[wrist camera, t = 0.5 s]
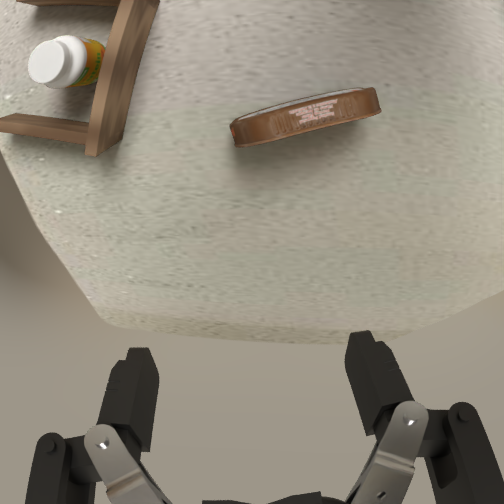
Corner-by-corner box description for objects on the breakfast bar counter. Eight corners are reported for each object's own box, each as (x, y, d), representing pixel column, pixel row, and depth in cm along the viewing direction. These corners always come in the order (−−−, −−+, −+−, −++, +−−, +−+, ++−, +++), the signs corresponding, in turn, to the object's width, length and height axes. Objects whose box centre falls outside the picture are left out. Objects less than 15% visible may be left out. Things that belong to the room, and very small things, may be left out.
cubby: (41, -3, 22) (4, -12, 15) (159, 0, 25) (141, -19, 18) (14, 122, 29) (-25, 137, 22) (122, 139, 32) (95, 156, 26)
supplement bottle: (99, 90, 29) (58, 98, 21) (61, 78, 28) (14, 84, 19) (118, 46, 27) (80, 39, 19) (79, 35, 25) (34, 28, 17)
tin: (235, 141, 34) (237, 159, 27) (226, 114, 32) (225, 125, 25) (362, 107, 32) (397, 118, 25) (356, 81, 31) (390, 85, 24)
